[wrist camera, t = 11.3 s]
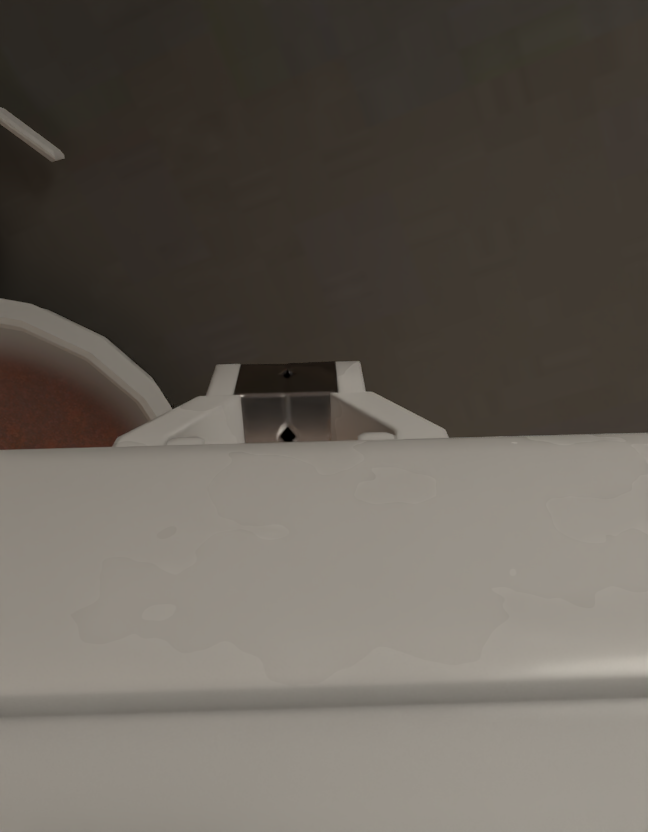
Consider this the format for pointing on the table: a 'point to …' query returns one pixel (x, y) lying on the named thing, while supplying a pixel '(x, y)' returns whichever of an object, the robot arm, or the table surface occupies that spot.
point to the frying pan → (65, 370)
